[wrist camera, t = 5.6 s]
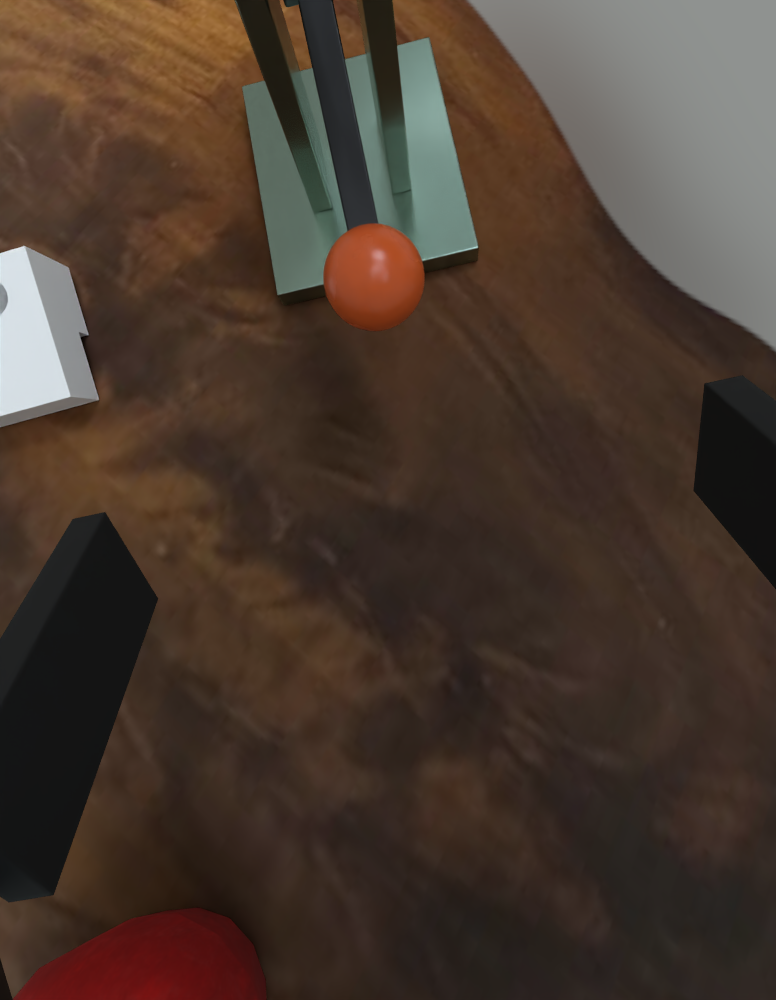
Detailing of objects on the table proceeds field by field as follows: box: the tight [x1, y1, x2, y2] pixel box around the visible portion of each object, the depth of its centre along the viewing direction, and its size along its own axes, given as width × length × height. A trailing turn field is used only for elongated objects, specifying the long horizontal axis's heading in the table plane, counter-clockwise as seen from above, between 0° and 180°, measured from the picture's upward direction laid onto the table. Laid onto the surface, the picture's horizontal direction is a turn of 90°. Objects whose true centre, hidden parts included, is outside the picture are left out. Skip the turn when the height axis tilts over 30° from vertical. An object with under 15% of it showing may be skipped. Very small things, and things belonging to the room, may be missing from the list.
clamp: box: [235, 0, 479, 306], centre depth 25 cm, size 12×10×14 cm
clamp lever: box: [283, 0, 425, 331], centre depth 21 cm, size 14×4×4 cm, turn 11°
